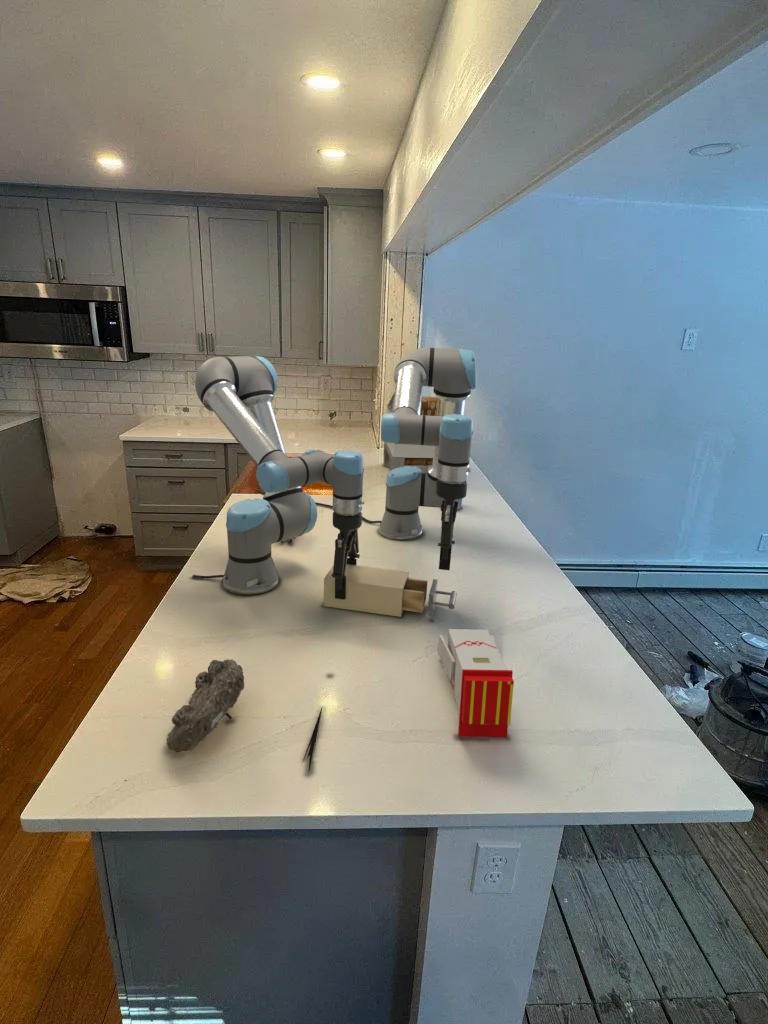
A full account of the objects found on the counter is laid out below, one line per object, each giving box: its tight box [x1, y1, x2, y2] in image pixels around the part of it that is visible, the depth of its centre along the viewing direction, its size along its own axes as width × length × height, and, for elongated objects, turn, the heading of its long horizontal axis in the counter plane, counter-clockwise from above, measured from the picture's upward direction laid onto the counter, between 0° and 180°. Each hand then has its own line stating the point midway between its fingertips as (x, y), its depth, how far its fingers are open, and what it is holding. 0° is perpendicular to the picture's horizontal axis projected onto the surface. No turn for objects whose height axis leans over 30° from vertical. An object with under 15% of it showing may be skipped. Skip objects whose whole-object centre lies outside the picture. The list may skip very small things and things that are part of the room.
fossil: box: [166, 658, 245, 754], centre depth 106 cm, size 22×10×15 cm
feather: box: [301, 673, 332, 771], centre depth 108 cm, size 2×28×2 cm
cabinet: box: [323, 564, 410, 618], centre depth 151 cm, size 21×10×8 cm, turn 78°
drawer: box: [402, 577, 458, 618], centre depth 149 cm, size 25×9×6 cm, turn 78°
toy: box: [437, 628, 515, 738], centre depth 117 cm, size 12×13×30 cm
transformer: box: [383, 391, 438, 472], centre depth 268 cm, size 34×33×41 cm
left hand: (345, 589), depth 153 cm, fingers closed on cabinet, 10 cm apart
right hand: (444, 568), depth 145 cm, fingers closed
